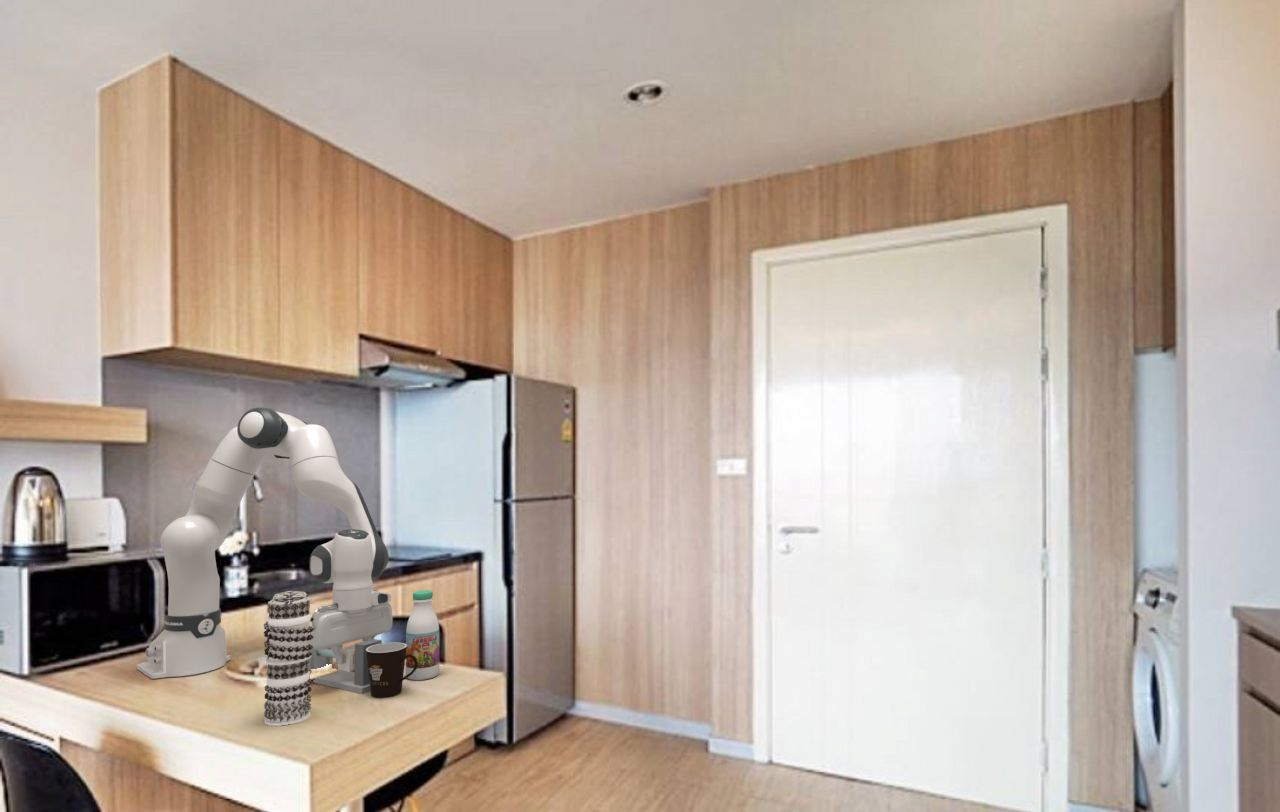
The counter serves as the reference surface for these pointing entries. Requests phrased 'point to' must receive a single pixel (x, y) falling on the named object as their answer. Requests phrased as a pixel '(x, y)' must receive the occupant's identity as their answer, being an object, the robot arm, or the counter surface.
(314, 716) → the counter surface
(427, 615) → the milk bottle
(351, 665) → the marker sleeve
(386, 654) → the coffee mug
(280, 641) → the decorative candle
